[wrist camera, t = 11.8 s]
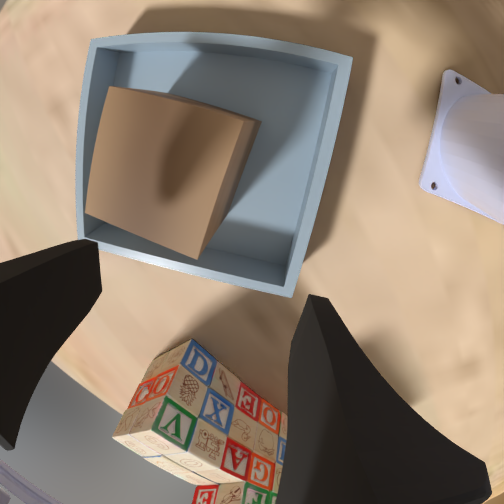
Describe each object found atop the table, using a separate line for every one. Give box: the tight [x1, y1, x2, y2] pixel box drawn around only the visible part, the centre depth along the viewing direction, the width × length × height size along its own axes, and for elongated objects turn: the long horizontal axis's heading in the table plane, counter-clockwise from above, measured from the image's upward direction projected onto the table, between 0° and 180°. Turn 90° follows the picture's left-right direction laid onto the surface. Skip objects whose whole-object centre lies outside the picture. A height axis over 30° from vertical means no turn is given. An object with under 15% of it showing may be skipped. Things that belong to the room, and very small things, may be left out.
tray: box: [76, 32, 353, 298], centre depth 15 cm, size 14×13×3 cm
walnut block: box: [85, 86, 262, 260], centre depth 13 cm, size 6×6×6 cm
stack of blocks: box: [112, 339, 288, 504], centre depth 21 cm, size 21×6×12 cm, turn 40°
